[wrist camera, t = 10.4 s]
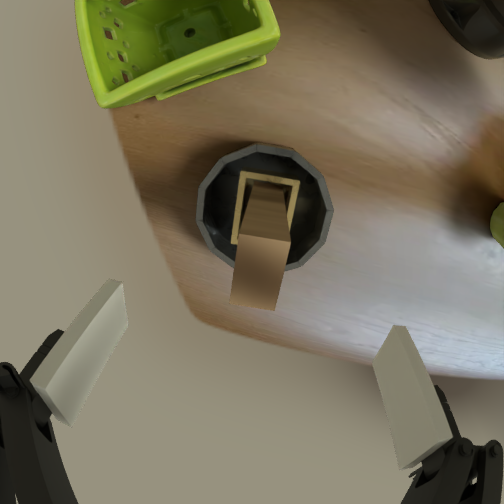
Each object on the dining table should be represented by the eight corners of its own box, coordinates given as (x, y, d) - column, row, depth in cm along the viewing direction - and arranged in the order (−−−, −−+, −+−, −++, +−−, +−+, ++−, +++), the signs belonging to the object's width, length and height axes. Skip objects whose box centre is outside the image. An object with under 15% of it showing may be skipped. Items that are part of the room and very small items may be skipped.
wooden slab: (254, 180, 29) (238, 233, 16) (282, 185, 29) (291, 242, 16) (247, 223, 31) (229, 303, 18) (273, 228, 32) (274, 310, 18)
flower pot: (280, 73, 24) (286, 39, 13) (159, 115, 27) (95, 116, 16) (241, -22, 19) (225, -83, 7) (130, 21, 21) (68, -10, 10)
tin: (212, 135, 28) (204, 137, 24) (336, 157, 28) (345, 162, 24) (201, 247, 34) (192, 263, 30) (309, 265, 34) (313, 282, 30)
